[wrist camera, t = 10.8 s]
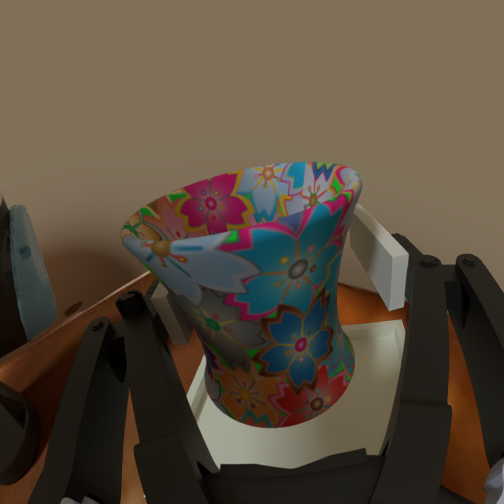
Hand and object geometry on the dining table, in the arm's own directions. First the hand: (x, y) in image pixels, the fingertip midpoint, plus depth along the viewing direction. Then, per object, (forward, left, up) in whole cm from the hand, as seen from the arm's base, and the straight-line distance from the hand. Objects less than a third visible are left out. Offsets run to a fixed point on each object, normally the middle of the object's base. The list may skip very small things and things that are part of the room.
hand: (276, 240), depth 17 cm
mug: (+1, -4, -6) cm, 7 cm away
